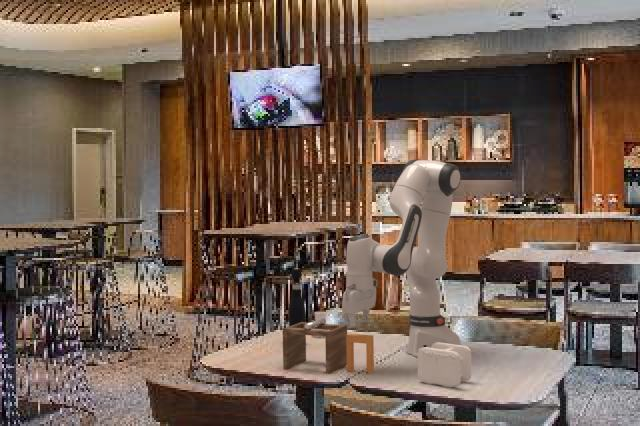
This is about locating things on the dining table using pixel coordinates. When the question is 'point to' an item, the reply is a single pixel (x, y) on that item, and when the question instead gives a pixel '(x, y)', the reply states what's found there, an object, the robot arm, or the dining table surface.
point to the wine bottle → (296, 300)
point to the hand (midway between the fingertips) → (358, 324)
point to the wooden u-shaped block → (369, 350)
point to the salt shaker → (317, 317)
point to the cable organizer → (444, 364)
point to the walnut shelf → (297, 335)
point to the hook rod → (314, 324)
